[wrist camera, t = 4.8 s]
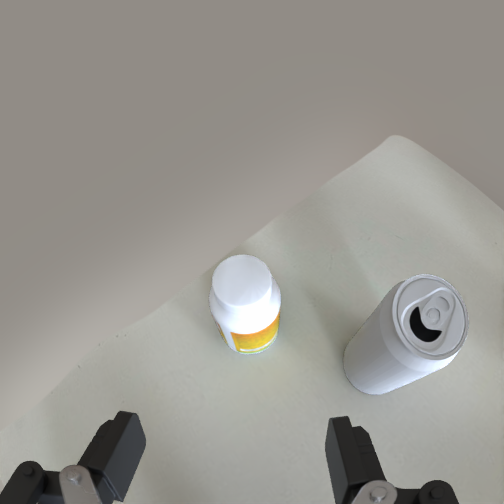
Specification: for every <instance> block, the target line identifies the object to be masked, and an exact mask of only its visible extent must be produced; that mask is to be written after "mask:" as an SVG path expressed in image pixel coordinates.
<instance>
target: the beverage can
mask: <svg viewBox="0 0 504 504" xmlns="http://www.w3.org/2000/svg"><path fill="white" fill-rule="evenodd" d="M468 328H469V317H468V312H467V308H466V305H465V303H464V300H463V298H462V297H461V295H460V294H459V292H458V291H457V290H456V289H455V288H454V287H453V286H452V285H451V284H450V283H449V282H447V281H446V280H444V279H442V278H440V277H438V276H435V275H430V274H420V275H415V276H413V277H411V278H409V279H407V280H404V281H402V282H400V283H398V284H397V285H395V286H394V287H393V288H392V289H391V290H390V291H389V292H388V293H387V295H386V296H385V297H384V299H383V300H382V301H381V303H380V304H379V305H378V307H377V308H376V309H375V310H374V312H373V313H372V314H371V316H370V317H369V318H368V319H367V321H366V322H365V323H364V324H363V326H362V327H361V328H360V329H359V330H358V332H357V333H356V334H355V335H354V337H353V338H352V339H351V340H350V342H349V343H348V345H347V347H346V349H345V352H344V357H343V365H344V370H345V374H346V376H347V378H348V380H349V381H350V382H351V384H352V385H353V386H354V387H355V388H357V389H358V390H360V391H362V392H364V393H367V394H372V395H379V394H384V393H387V392H389V391H392V390H394V389H397V388H399V387H401V386H404V385H406V384H408V383H411V382H413V381H415V380H418V379H420V378H422V377H424V376H426V375H428V374H430V373H433V372H435V371H437V370H439V369H441V368H443V367H445V366H446V365H447V364H449V363H450V362H451V361H452V360H453V359H454V357H455V356H456V354H457V353H458V351H459V350H460V348H461V347H462V346H463V344H464V342H465V340H466V337H467V334H468Z"/></svg>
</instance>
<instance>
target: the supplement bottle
mask: <svg viewBox="0 0 504 504" xmlns="http://www.w3.org/2000/svg"><path fill="white" fill-rule="evenodd" d="M209 307H210V310H211V313H212V316H213V318H214V320H215V322H216V325H217V327H218V329H219V331H220V334H221V336H222V338H223V340H224V341H225V343H226V344H227V345H228V346H229V347H230V348H231V349H233V350H234V351H236V352H239V353H242V354H256V353H259V352H262V351H264V350H266V349H267V348H268V347H269V346H270V345H271V344H272V343H273V342H274V340H275V339H276V337H277V334H278V329H279V318H280V307H281V293H280V289H279V286H278V284H277V282H276V281H275V279H274V278H273V277H272V275H271V272H270V270H269V268H268V266H267V265H266V264H265V263H264V262H263V261H262V260H260V259H259V258H257V257H254V256H251V255H245V254H240V255H235V256H231V257H229V258H227V259H225V260H224V261H222V262H221V263H220V264H219V265H218V266H217V268H216V269H215V271H214V274H213V277H212V287H211V289H210V293H209Z"/></svg>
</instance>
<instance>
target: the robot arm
mask: <svg viewBox="0 0 504 504" xmlns="http://www.w3.org/2000/svg"><path fill="white" fill-rule="evenodd" d="M145 446H146V438H145V434H144V432H143V429H142V426H141V423H140V420H139V417H138V415H137V414H136V413H131V412H125V411H119V412H118V413H117V415H116V417H115V418H114V420H108V421H107V422H105V423H104V424H103V425H101V426H100V428H99V429H98V431H97V433H96V436H94V437H93V439H92V442H90V444H89V446H88V447H87V449H86V450H85V452H84V454H83V455H82V457H81V459H80V460H79V462H78V464H77V465H70V466H67V467H65V468H64V469H63V470H62V471H61V472H57V471H45V470H43V468H42V467H41V466H40V465H39V464H38V463H37V462H34V461H26V462H23V463H21V464H20V465H19V466H18V467H17V469H16V470H15V472H14V473H13V475H12V476H11V478H10V480H9V481H8V483H7V484H6V486H5V487H4V489H3V491H2V492H1V494H0V504H112V503H113V500H116V501H120V502H123V501H124V498H125V496H126V493H127V491H128V488H129V486H130V483H131V481H132V479H133V476H134V474H135V471H136V469H137V466H138V464H139V462H140V459H141V457H142V454H143V452H144V450H145ZM325 452H326V458H327V463H328V468H329V473H330V478H331V483H332V488H333V493H334V498H335V503H336V504H459V503H458V500H457V498H456V496H455V493H454V491H453V489H452V487H451V486H450V485H449V484H448V483H447V482H444V481H441V480H434V481H430V482H428V483H426V484H425V485H423V486H422V488H421V489H400V488H397V487H394V486H393V485H392V484H391V483H389V482H387V480H386V479H385V476H384V474H383V471H382V468H381V465H380V463H379V460H378V457H377V455H376V452H375V449H374V447H373V445H372V441H371V439H370V436H369V433H367V432H366V431H365V430H364V429H363V428H362V427H361V426H357V427H352V425H351V422H350V419H349V417H348V416H343V417H335V418H330V419H329V423H328V430H327V436H326V442H325ZM37 502H38V503H37Z"/></svg>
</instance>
